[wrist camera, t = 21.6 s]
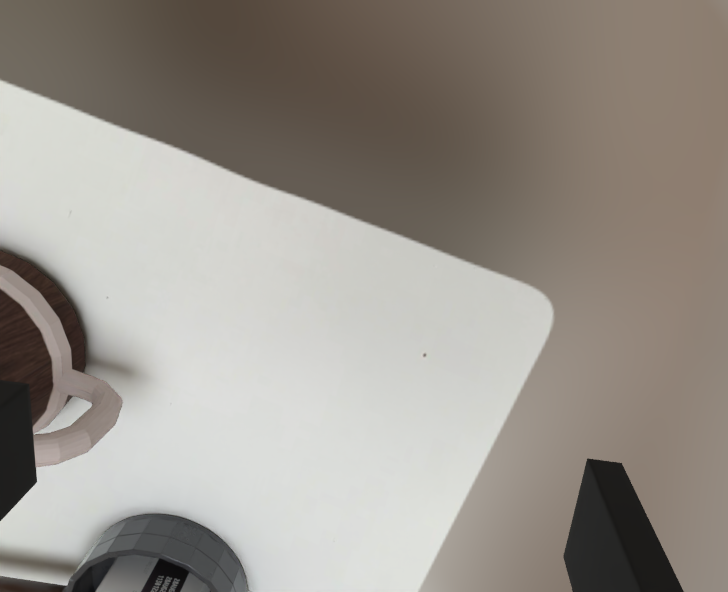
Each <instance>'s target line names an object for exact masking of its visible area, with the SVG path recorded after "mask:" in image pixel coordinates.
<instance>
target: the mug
mask: <svg viewBox="0 0 728 592" xmlns="http://www.w3.org/2000/svg"><path fill="white" fill-rule="evenodd" d="M84 368H85V346H84V336H83V333H82V331H81V328H80V325H79V323H78V320H77V317H76V315H75V312H74V309H73V308H72V307H71V305H70V304H69V302H68V301H67V300H66V298H65V297H64V296H63V294H62V293H61V292H60V290H59V289H58V288H57V286H56V285H55V284H54V283H53V282H52V281H51V280H50V279H48V278H47V277H46V276H45V275H43V274H42V273H41V272H40V271H38V270H37V269H36V268H35V267H33V266H32V265H31V264H30V263H28V262H26V261H24V260H21V259H19V258H17V257H14V256H12V255H10V254H7V253H5V252H3V251H0V380H4V381H12V382H19V383H27V384H29V386H30V399H31V412H32V425H33V434H34V433H36V432H38V431H39V430H41V429H43V428H45V427H47V426H48V425H49V424H50V423H51V422H52V420H53V419H54V418H55V417H56V415H57V414H58V413H59V412H60V411H61V409H62V408H63V407H64V406H65V405H66V403H67V402H68V401H69V400H70V398H71V397H72V396H76V397H79V398H82V399H84V400H87V401H89V402H92V404H93V405H92V407H91V408H90V409H89V410H88V411H87V412H85V413H84V414H83V415H82V416H81V417H80V418H79V419H78V420H76V421H75V422H74V423H73V424H72V425H71V426H69V427H66V428H63V429H60V430H57V431H54V432H51V433H45V434H35V435H33V438H34V451H35V464H36V467H42V466H49V465H56V464H59V463H61V462H64V461H66V460H69V459H71V458H74V457H77V456H79V455H82V454H84V453H86V452H88V451H89V450H90V449H91V448H92V447H93V446H94V445H95V444H96V443H97V442H98V441H99V440H100V439H101V438H102V437H103V436H104V435H105V434H106V433H107V432H108V431H109V430H110V429H111V428H112V427H113V426H114V425H115V424H116V422H117V419H118V416H119V413H120V410H121V407H122V398H121V397H120V396H119V395H118V394H117V393H116V392H115V391H114V390H113V389H112V388H111V387H110V386H109V385H108V384H107V383H106V382H105V381H103V380H100V379H98V378H95V377H93V376H90V375H87V374H84V373H83V371H84Z"/></svg>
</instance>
